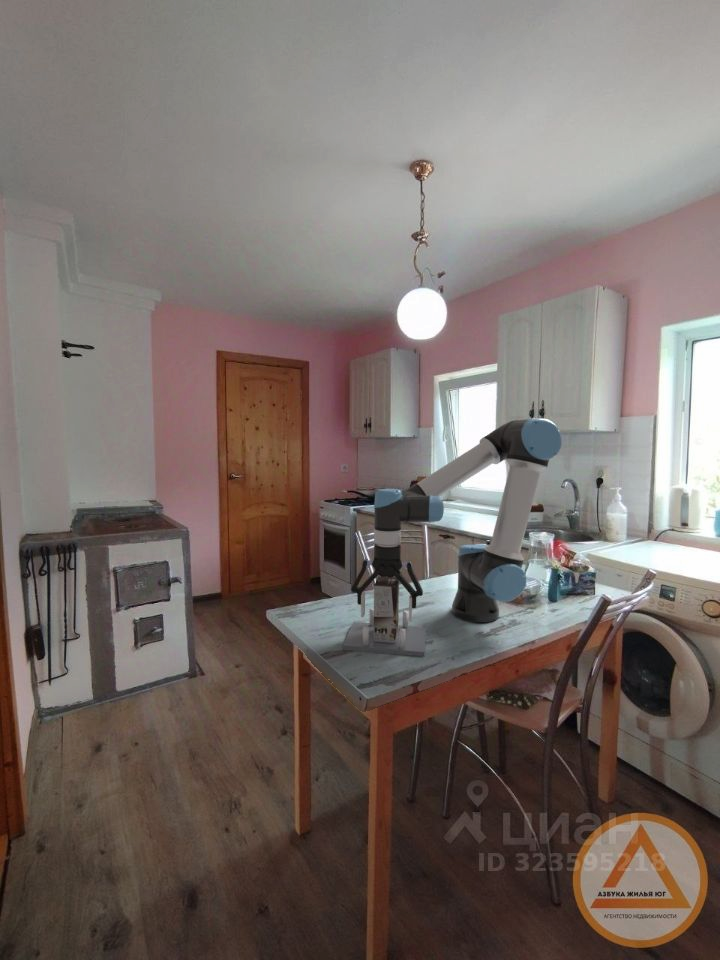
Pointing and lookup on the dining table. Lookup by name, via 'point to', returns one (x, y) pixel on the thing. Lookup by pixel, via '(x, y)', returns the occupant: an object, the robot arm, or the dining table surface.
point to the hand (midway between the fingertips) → (386, 617)
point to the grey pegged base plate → (406, 642)
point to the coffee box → (386, 609)
